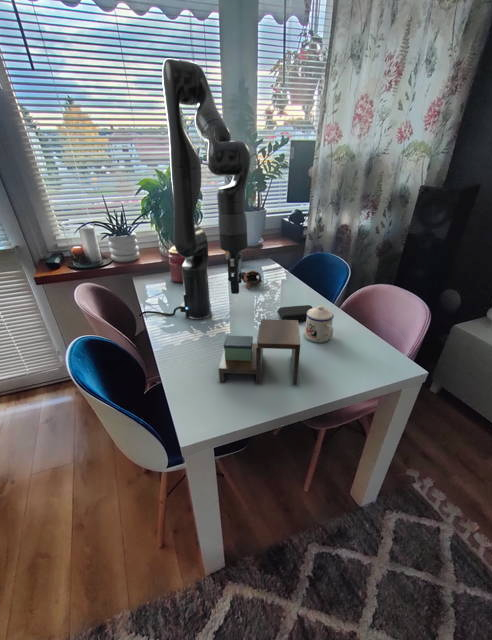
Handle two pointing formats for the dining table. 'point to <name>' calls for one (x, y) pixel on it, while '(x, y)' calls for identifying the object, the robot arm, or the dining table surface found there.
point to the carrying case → (294, 312)
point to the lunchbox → (238, 348)
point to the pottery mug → (251, 278)
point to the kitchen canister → (176, 264)
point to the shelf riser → (269, 336)
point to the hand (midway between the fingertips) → (236, 287)
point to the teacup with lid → (319, 324)
